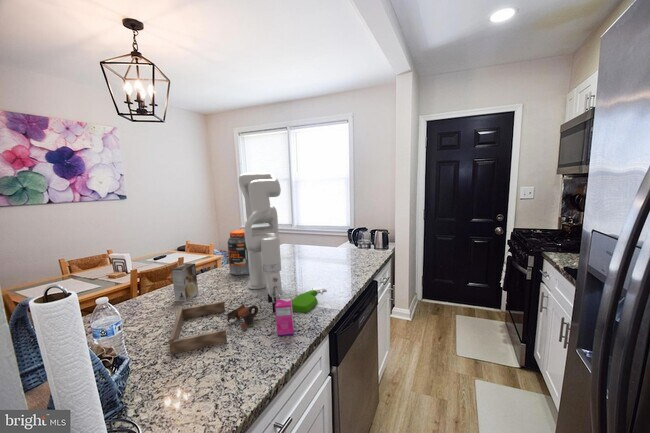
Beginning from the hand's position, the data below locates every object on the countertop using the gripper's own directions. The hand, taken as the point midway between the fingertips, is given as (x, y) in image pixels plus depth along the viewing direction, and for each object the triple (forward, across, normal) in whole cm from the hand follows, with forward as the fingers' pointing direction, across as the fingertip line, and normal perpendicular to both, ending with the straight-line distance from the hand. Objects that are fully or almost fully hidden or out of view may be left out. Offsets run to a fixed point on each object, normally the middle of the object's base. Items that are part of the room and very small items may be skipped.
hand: (274, 306), depth 112 cm
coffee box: (+3, +36, +36) cm, 51 cm away
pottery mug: (+3, -2, +13) cm, 13 cm away
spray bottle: (+4, +6, -17) cm, 19 cm away
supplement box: (+3, -16, -1) cm, 16 cm away
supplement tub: (+3, +65, +7) cm, 65 cm away
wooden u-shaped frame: (+3, 0, +28) cm, 28 cm away
